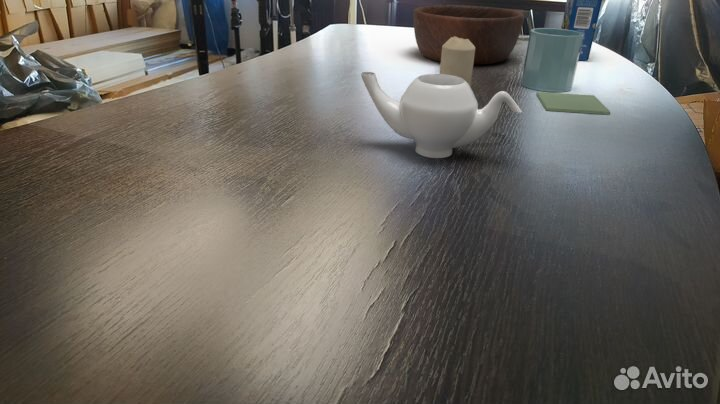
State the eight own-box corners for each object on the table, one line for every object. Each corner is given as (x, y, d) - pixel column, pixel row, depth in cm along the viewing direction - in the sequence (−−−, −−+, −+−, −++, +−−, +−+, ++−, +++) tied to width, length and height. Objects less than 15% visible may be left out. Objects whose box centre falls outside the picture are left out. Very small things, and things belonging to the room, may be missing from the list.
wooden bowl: (508, 49, 129) (514, 6, 124) (526, 71, 107) (535, 20, 102) (411, 45, 131) (414, 3, 126) (409, 65, 109) (413, 16, 104)
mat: (593, 98, 89) (594, 95, 89) (610, 114, 81) (610, 111, 80) (536, 94, 90) (536, 91, 90) (546, 110, 82) (546, 107, 81)
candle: (475, 97, 88) (483, 38, 83) (455, 102, 84) (462, 41, 80) (451, 90, 91) (457, 33, 87) (431, 95, 88) (436, 36, 83)
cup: (565, 81, 100) (576, 29, 95) (576, 93, 92) (589, 37, 87) (518, 78, 101) (527, 27, 96) (525, 90, 93) (535, 34, 88)
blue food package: (581, 52, 128) (605, -58, 117) (588, 61, 118) (616, -58, 106) (555, 50, 130) (577, -58, 118) (560, 59, 119) (585, -59, 108)
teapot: (512, 176, 58) (527, 98, 54) (349, 154, 63) (350, 80, 58) (514, 147, 66) (526, 78, 62) (369, 130, 71) (371, 64, 67)
